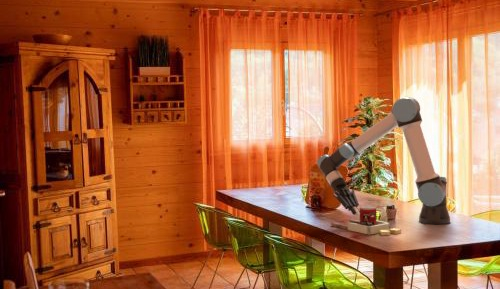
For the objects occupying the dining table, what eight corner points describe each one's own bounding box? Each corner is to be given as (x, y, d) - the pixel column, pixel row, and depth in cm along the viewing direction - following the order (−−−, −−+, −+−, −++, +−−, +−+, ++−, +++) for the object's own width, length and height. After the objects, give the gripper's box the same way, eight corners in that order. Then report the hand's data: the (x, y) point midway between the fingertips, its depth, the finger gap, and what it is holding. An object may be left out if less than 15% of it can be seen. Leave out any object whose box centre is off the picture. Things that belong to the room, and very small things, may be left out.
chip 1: (379, 234, 281) (379, 229, 281) (388, 234, 280) (388, 229, 280) (380, 236, 277) (380, 231, 277) (389, 236, 276) (389, 231, 276)
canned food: (358, 230, 287) (357, 207, 287) (362, 227, 295) (362, 205, 294) (374, 232, 284) (373, 208, 283) (377, 228, 291) (377, 206, 291)
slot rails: (331, 225, 300) (331, 222, 300) (351, 222, 308) (351, 219, 308) (347, 229, 291) (347, 226, 291) (368, 225, 299) (368, 222, 299)
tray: (347, 229, 290) (347, 222, 290) (369, 225, 298) (369, 218, 298) (369, 234, 279) (369, 227, 278) (390, 230, 287) (390, 223, 287)
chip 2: (388, 233, 281) (388, 229, 281) (394, 232, 284) (393, 228, 284) (396, 234, 278) (396, 230, 278) (401, 233, 281) (401, 229, 281)
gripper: (342, 185, 312) (365, 221, 299) (323, 187, 305) (346, 225, 292) (349, 175, 307) (373, 212, 294) (330, 177, 300) (354, 215, 287)
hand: (360, 218), depth 293 cm, fingers closed
